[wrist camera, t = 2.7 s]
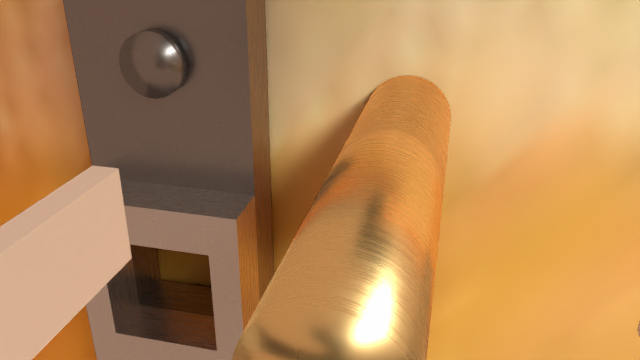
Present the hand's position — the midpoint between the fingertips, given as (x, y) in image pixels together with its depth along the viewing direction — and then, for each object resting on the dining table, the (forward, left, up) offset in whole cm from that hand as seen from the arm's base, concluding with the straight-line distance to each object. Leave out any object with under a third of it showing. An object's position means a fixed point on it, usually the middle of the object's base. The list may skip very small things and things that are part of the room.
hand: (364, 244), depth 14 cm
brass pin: (0, 0, -9) cm, 9 cm away
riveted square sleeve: (+7, -9, -9) cm, 14 cm away
